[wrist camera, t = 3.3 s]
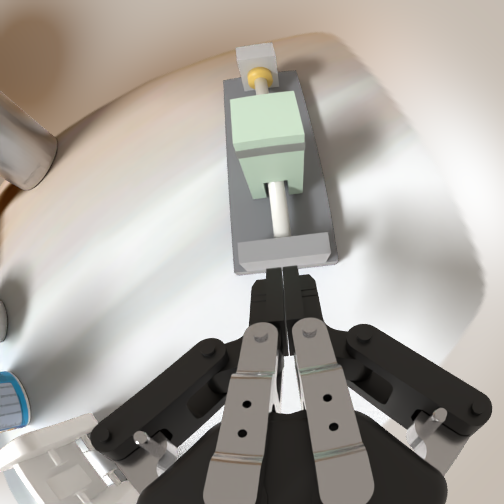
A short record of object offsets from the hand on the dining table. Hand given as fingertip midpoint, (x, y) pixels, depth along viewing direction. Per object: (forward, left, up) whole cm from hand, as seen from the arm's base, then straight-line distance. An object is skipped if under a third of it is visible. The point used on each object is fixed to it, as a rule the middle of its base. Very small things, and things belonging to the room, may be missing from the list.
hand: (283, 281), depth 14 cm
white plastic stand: (+5, -28, -9) cm, 30 cm away
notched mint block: (-8, +5, -7) cm, 12 cm away
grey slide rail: (-11, +7, -9) cm, 16 cm away
